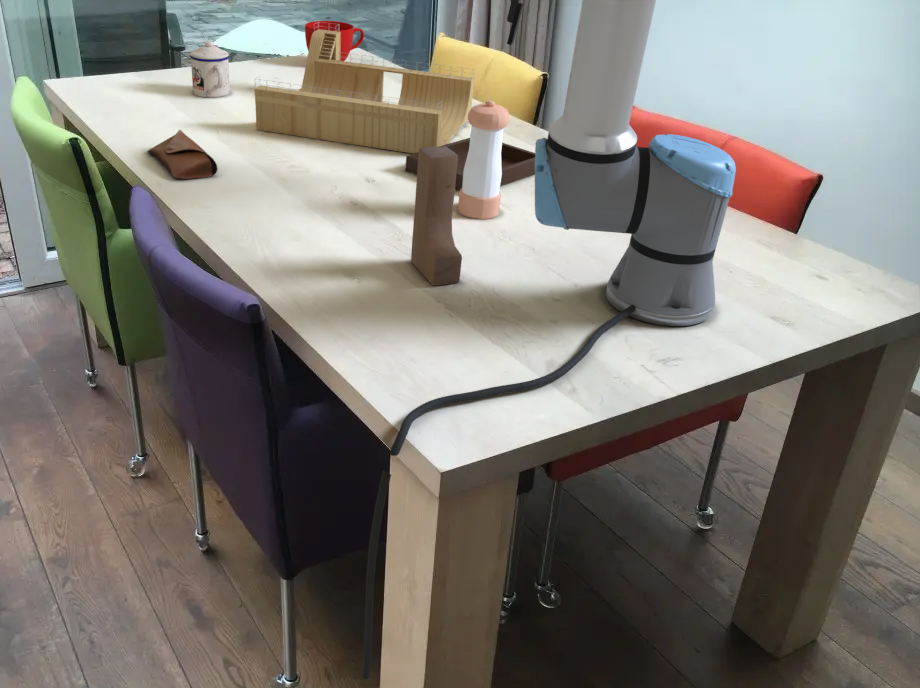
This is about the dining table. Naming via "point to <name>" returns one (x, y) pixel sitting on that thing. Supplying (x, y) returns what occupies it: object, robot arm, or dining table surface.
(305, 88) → the skate ramp
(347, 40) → the ceramic cup
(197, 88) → the teacup with lid
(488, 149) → the pepper shaker
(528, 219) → the dining table surface
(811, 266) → the dining table surface
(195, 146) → the sunglasses case
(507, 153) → the tray
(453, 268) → the wooden block
